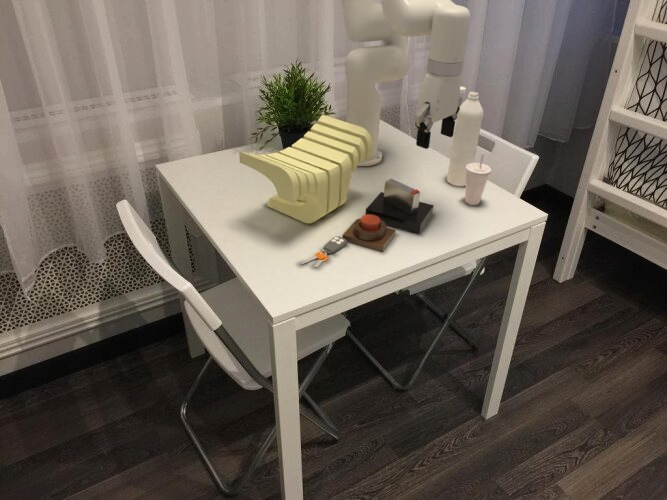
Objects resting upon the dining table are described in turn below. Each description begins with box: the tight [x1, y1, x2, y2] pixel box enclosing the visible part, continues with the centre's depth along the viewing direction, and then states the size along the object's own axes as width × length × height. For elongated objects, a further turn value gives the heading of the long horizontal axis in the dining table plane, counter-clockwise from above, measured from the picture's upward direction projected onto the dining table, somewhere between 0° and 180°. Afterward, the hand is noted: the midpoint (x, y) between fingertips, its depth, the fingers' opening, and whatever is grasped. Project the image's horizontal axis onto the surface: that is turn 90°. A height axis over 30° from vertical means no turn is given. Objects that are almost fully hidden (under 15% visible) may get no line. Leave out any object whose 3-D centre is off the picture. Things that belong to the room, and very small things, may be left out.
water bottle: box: [446, 86, 484, 187], centre depth 156 cm, size 9×6×25 cm
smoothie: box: [464, 151, 492, 206], centre depth 149 cm, size 6×6×14 cm
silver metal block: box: [383, 178, 421, 215], centre depth 142 cm, size 9×2×6 cm, turn 45°
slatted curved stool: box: [238, 114, 372, 224], centre depth 143 cm, size 30×16×18 cm, turn 142°
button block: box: [342, 217, 396, 253], centre depth 136 cm, size 10×8×4 cm
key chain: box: [300, 235, 348, 268], centre depth 130 cm, size 13×4×2 cm, turn 145°
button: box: [360, 214, 380, 231], centre depth 135 cm, size 4×4×2 cm
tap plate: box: [364, 191, 435, 235], centre depth 144 cm, size 14×10×3 cm
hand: (434, 141), depth 137 cm, fingers open, 9 cm apart
